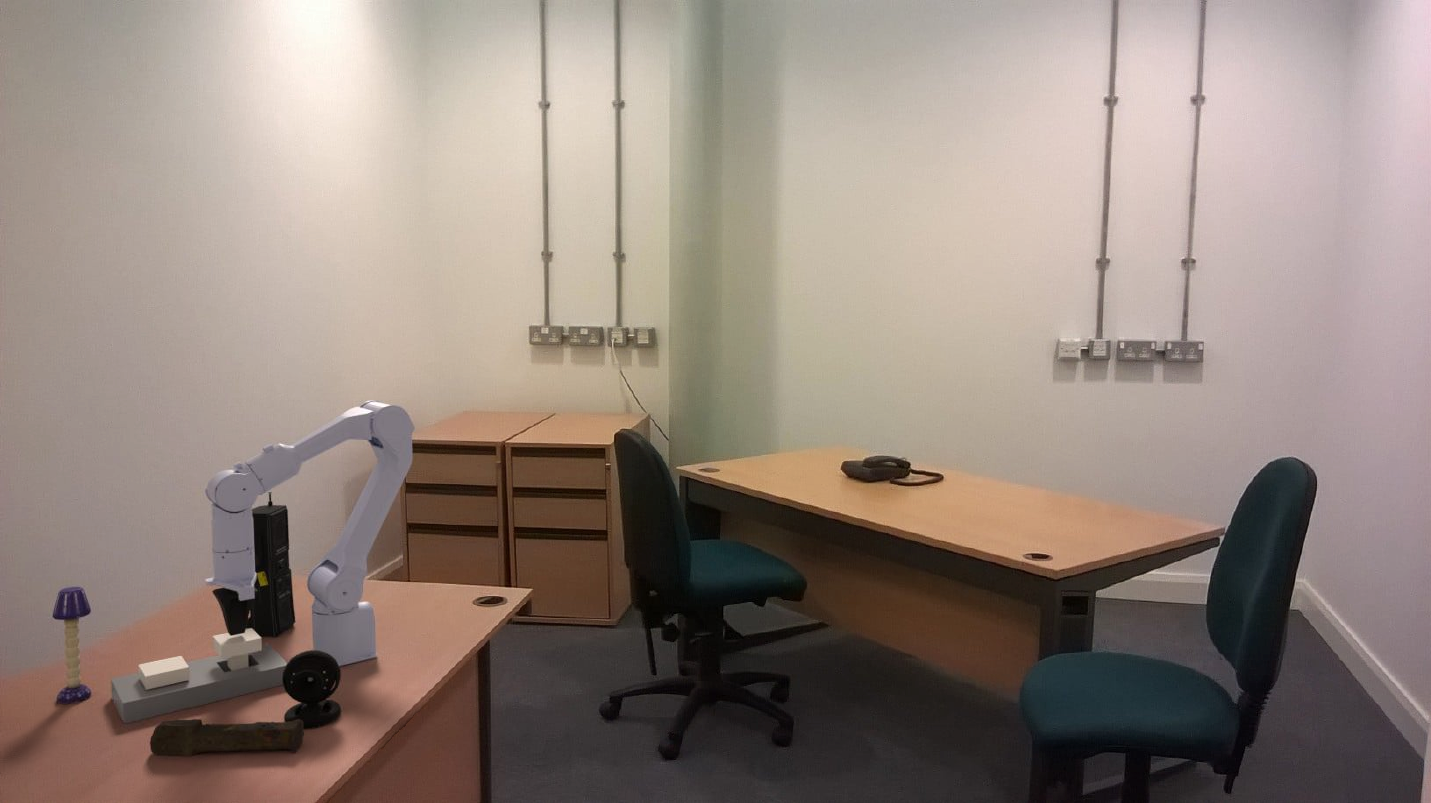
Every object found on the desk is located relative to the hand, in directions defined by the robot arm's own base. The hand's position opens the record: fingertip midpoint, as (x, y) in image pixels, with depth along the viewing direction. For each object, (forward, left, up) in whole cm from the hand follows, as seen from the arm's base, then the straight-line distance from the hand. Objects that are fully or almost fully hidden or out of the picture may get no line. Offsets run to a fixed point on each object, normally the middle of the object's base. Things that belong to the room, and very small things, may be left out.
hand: (236, 633), depth 140 cm
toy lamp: (+20, -9, -8) cm, 23 cm away
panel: (+5, 0, -8) cm, 9 cm away
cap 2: (0, 0, -5) cm, 5 cm away
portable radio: (-10, -20, -8) cm, 24 cm away
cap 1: (+10, 0, -7) cm, 12 cm away
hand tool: (+7, +23, -8) cm, 26 cm away
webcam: (-5, +20, -8) cm, 22 cm away
